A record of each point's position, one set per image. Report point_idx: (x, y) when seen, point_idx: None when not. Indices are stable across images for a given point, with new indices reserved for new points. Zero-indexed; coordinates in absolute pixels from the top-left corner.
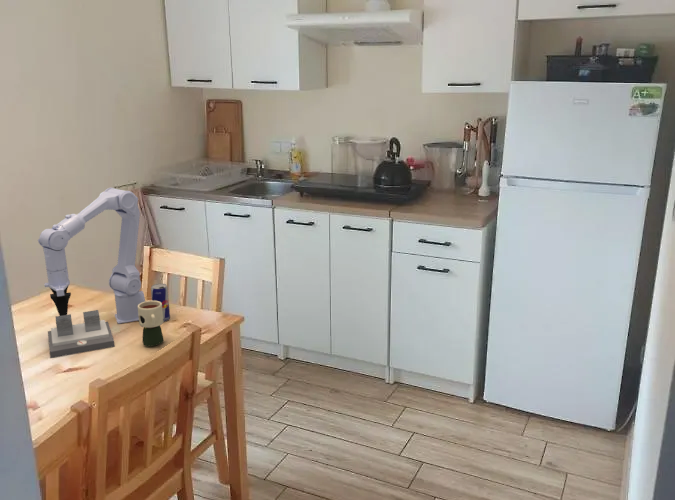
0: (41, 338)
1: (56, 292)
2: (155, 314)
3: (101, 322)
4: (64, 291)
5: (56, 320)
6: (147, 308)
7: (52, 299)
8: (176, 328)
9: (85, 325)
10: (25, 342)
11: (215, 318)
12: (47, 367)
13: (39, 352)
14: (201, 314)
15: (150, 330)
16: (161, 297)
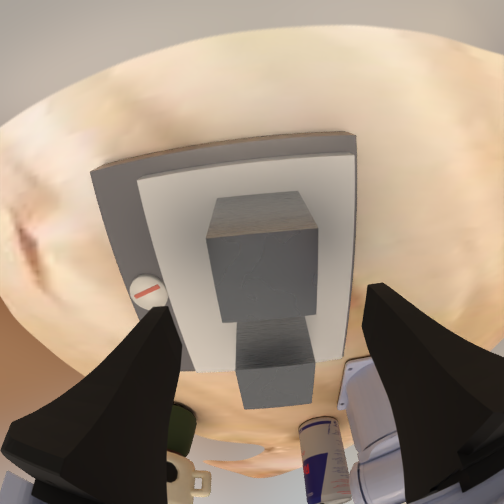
0: (342, 100)
1: (429, 393)
2: None
3: (319, 353)
4: (405, 431)
5: (229, 240)
6: None
7: (16, 423)
8: (250, 440)
9: (236, 336)
10: (318, 33)
11: (274, 467)
12: (40, 170)
13: (172, 104)
14: None
15: None
16: (305, 486)
